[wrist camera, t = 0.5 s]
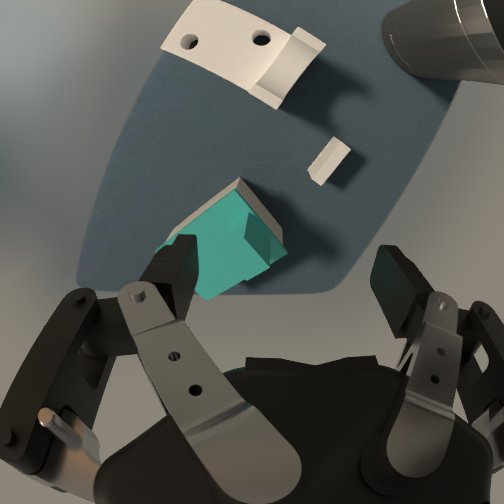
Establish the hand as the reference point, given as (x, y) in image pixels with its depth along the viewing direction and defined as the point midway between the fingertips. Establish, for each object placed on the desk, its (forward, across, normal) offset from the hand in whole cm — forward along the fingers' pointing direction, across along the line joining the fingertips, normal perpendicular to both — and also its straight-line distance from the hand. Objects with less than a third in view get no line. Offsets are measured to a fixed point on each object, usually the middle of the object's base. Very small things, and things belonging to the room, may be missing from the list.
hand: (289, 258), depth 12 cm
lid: (+15, +5, +8) cm, 18 cm away
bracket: (+20, +4, -13) cm, 24 cm away
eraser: (+20, -6, -2) cm, 21 cm away
